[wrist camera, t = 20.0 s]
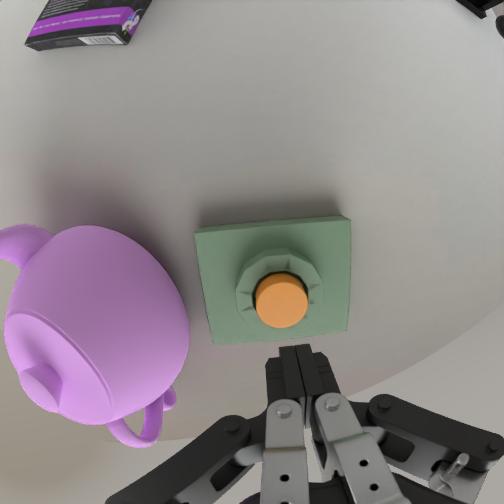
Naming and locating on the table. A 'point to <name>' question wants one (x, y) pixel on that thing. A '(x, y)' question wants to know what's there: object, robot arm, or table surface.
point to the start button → (281, 300)
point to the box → (86, 23)
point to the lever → (500, 25)
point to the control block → (272, 262)
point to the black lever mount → (479, 6)
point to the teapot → (94, 327)
